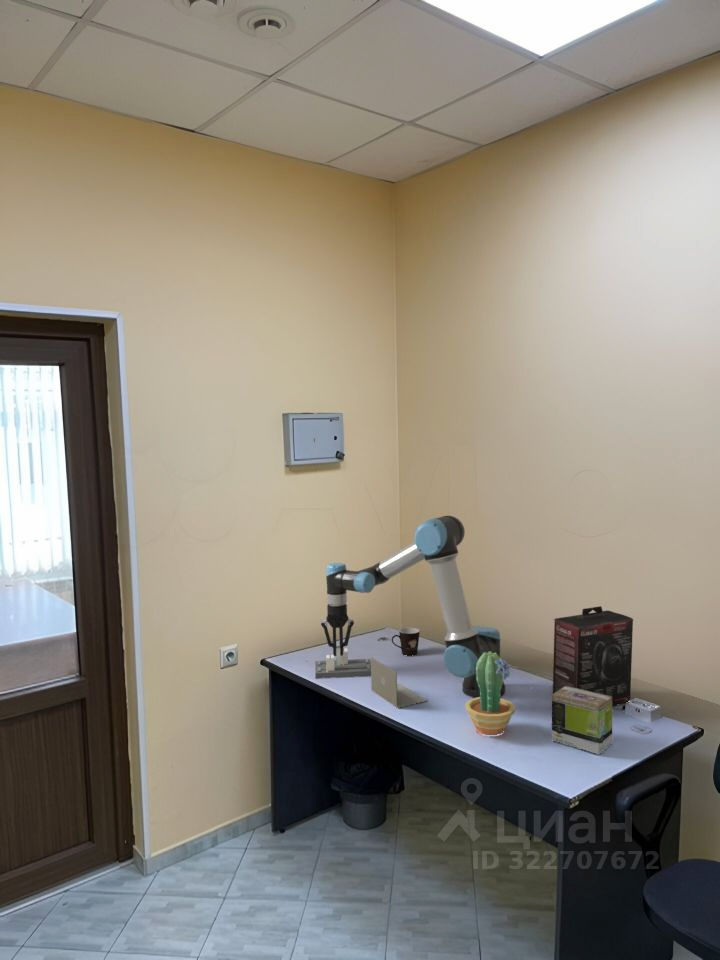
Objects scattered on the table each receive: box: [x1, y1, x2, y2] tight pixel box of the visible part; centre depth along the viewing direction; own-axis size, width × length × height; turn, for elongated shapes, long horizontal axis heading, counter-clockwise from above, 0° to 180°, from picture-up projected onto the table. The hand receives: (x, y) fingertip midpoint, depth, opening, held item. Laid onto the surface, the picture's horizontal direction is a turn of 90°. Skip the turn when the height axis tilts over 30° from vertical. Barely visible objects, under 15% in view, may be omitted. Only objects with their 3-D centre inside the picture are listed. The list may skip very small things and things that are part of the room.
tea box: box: [551, 686, 613, 755], centre depth 208 cm, size 15×10×15 cm
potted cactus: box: [464, 651, 516, 735], centre depth 216 cm, size 15×15×25 cm
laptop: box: [370, 657, 428, 709], centre depth 246 cm, size 18×12×13 cm
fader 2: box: [340, 647, 349, 664], centre depth 276 cm, size 4×3×5 cm
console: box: [314, 658, 371, 679], centre depth 273 cm, size 14×22×2 cm, turn 94°
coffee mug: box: [391, 627, 421, 657], centre depth 292 cm, size 12×9×10 cm
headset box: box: [552, 605, 634, 706], centre depth 236 cm, size 24×13×33 cm, turn 115°
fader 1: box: [325, 654, 335, 671], centre depth 269 cm, size 4×3×5 cm
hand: (338, 663), depth 269 cm, fingers closed
